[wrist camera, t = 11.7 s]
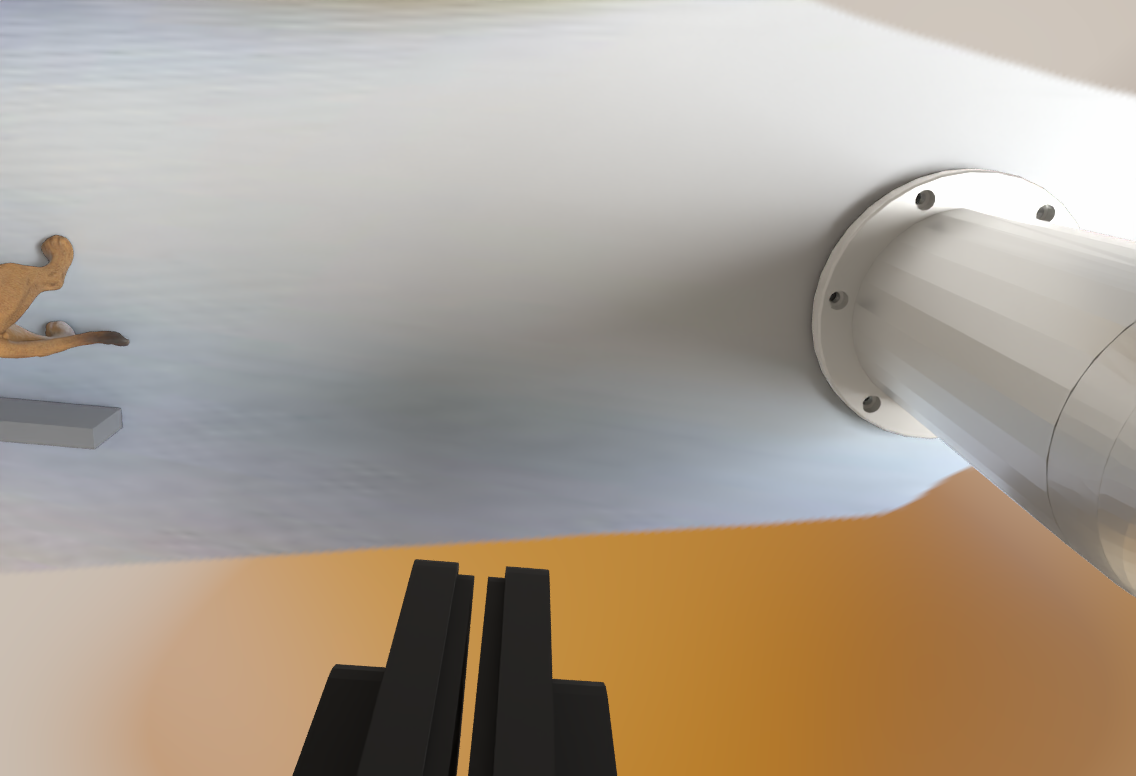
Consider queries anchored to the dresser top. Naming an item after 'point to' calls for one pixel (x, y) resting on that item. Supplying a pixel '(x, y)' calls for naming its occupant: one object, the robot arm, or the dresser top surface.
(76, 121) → the dresser top surface
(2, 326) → the lion figurine
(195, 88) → the dresser top surface
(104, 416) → the box
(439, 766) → the robot arm
